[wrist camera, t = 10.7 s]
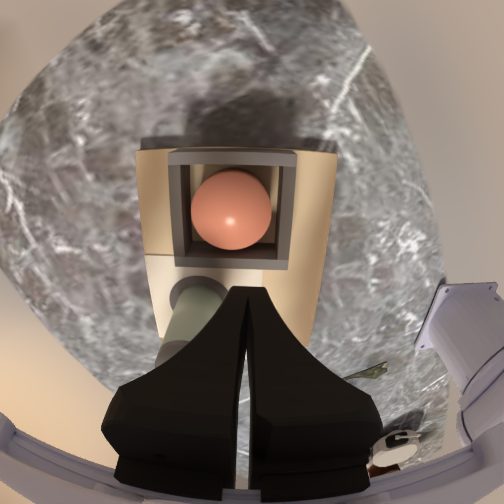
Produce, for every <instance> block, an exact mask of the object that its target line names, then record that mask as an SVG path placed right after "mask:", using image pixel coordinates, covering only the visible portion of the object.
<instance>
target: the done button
mask: <svg viewBox="0 0 504 504" xmlns="http://www.w3.org/2000/svg"><path fill="white" fill-rule="evenodd" d="M191 217H192V221H193V224H194V227H195V228H196V230H197V232H198V233H199V235H200V236H201V237H202V238H203V239H204V240H206V241H207V242H208V243H210V244H211V245H214V246H216V247H218V248H222V249H228V250H236V249H242V248H246V247H248V246H250V245H252V244H254V243H255V242H257V241H258V240H259V239H260V238H261V237H262V236H263V235H264V234H265V232H266V230H267V229H268V226H269V224H270V220H271V203H270V199H269V194H268V191H267V189H266V186H265V185H264V183H263V182H262V181H261V180H260V178H258V177H257V176H256V175H255V174H253V173H252V172H250V171H248V170H245V169H241V168H224V169H221V170H218V171H216V172H214V173H213V174H211V175H210V176H209V177H208V178H207V179H206V180H205V181H204V182H203V184H202V185H201V186H200V187H199V188H198V190H197V191H196V193H195V195H194V197H193V200H192V205H191Z"/></svg>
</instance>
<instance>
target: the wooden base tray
mask: <svg viewBox="0 0 504 504" xmlns="http://www.w3.org/2000/svg"><path fill="white" fill-rule="evenodd" d="M337 157H338V154H336V153H331V152H321V151H310V150H297V149H281V148H260V147H179V148H158V149H143V150H137V151H136V171H137V186H138V198H139V209H140V219H141V228H142V236H143V244H144V251H145V262H146V268H147V275H148V281H149V287H150V292H151V298H152V303H153V308H154V313H155V318H156V323H157V328H158V332H159V337H160V339H161V341H163V338H164V336H165V333H166V330H167V327H168V325H169V322H170V319H171V316H172V314H173V311H174V308H175V306H176V303H177V300H178V298H179V295H180V293H181V292H182V291H183V290H184V289H185V288H187V287H189V286H192V285H204V286H208V287H210V288H212V289H214V290H215V291H216V292H217V293H218V294H219V295H220V297H221V299H222V301H223V300H224V299H225V297H226V295H227V293H228V291H229V289H230V288H231V287H232V286H254V287H265V288H266V289H267V291H268V294H269V296H270V298H271V300H272V302H273V304H274V306H275V308H276V309H277V311H278V313H279V314H280V316H281V318H282V319H283V321H284V322H285V324H286V325H287V326H288V328H289V329H290V330H291V332H292V333H293V334H294V336H295V337H296V338H297V339H298V340H299V342H300V343H301V344H302V345H303V346H304V347H308V346H309V342H310V337H311V332H312V327H313V323H314V318H315V312H316V307H317V302H318V297H319V291H320V285H321V280H322V274H323V268H324V262H325V255H326V249H327V242H328V235H329V228H330V221H331V213H332V205H333V196H334V187H335V178H336V168H337ZM224 168H241V169H245V170H248V171H250V172H252V173H253V174H255V175H256V176H257V177H258V178H260V180H261V181H262V182H263V183H264V185H265V186H266V189H267V191H268V194H269V199H270V203H271V220H270V224H269V226H268V229H267V230H266V232H265V234H264V235H263V236H262V237H261V238H260V239H259V240H258V241H257V242H255V243H254V244H252V245H250V246H248V247H246V248H242V249H236V250H228V249H222V248H218V247H216V246H214V245H211V244H210V243H208V242H207V241H206V240H204V239H203V238H202V237H201V236H200V235H199V233H198V232H197V230H196V228H195V227H194V224H193V221H192V217H191V205H192V200H193V197H194V195H195V193H196V191H197V190H198V188H199V187H200V186H201V185H202V184H203V182H204V181H205V180H206V179H207V178H208V177H209V176H210V175H211V174H213V173H214V172H216V171H218V170H221V169H224Z"/></svg>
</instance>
